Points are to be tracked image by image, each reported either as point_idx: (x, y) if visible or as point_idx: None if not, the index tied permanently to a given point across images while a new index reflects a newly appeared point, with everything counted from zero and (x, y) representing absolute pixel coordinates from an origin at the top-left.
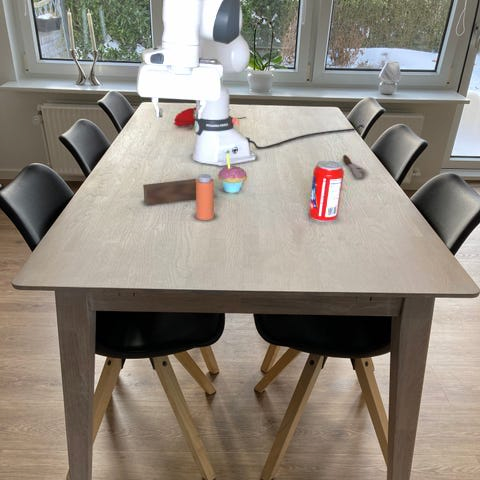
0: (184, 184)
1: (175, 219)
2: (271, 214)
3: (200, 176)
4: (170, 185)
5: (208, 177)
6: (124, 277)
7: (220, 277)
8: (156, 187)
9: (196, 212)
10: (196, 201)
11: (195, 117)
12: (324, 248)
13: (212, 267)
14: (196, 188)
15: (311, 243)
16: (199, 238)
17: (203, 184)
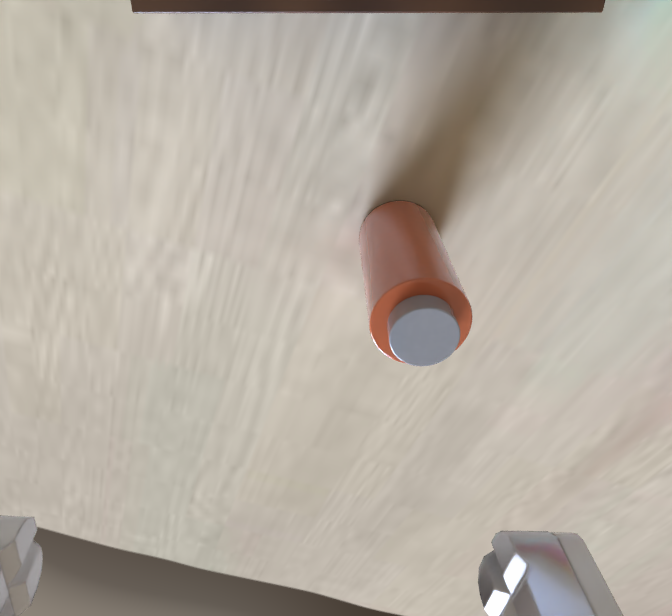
0: (395, 11)
1: (266, 225)
2: (656, 301)
3: (397, 338)
4: (298, 12)
5: (431, 364)
6: (52, 506)
7: (283, 556)
8: (202, 12)
9: (360, 246)
10: (363, 270)
11: (491, 598)
12: (607, 523)
13: (280, 522)
14: (367, 306)
15: (599, 497)
16: (304, 390)
17: (392, 356)
